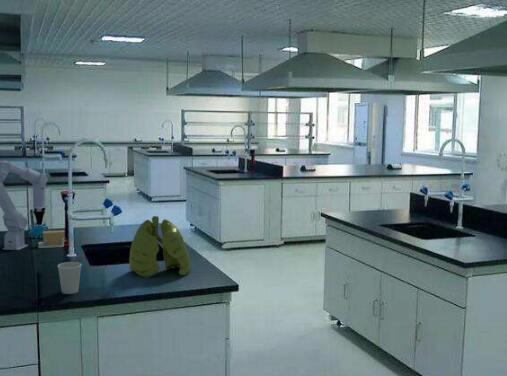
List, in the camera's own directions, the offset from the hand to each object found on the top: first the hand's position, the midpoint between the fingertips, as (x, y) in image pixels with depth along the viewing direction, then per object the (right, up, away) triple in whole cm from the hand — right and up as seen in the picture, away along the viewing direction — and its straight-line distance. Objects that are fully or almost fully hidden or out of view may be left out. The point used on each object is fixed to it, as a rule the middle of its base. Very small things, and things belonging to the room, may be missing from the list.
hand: (39, 223), depth 279 cm
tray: (+9, -10, -6) cm, 15 cm away
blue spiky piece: (-4, -8, +11) cm, 15 cm away
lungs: (+69, -17, -49) cm, 87 cm away
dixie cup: (+41, -20, -77) cm, 90 cm away
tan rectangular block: (+9, -10, -6) cm, 15 cm away
